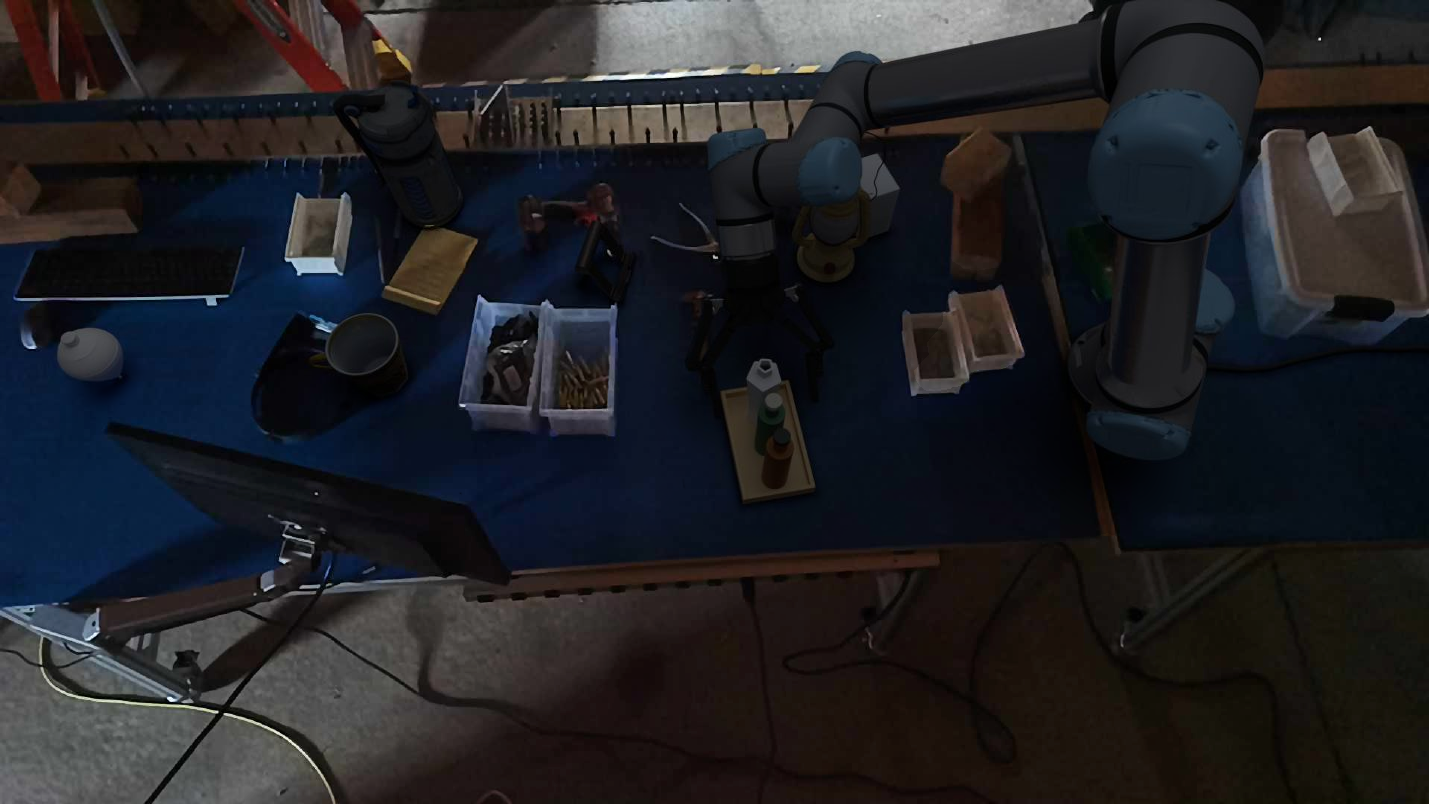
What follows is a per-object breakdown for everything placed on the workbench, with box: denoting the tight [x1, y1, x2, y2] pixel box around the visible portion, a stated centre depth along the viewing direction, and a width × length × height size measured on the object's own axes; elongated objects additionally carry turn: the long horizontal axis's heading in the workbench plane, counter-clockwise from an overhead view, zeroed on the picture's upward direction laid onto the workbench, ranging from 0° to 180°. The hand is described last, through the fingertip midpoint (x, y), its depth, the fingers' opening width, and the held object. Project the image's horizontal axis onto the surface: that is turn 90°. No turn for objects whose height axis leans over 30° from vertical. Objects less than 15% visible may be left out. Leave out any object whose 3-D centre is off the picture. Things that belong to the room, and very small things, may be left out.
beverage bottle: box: [332, 79, 464, 228], centre depth 131 cm, size 10×13×25 cm
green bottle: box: [754, 393, 786, 456], centre depth 117 cm, size 4×4×14 cm
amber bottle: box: [762, 428, 794, 489], centre depth 115 cm, size 4×4×14 cm
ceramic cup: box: [308, 312, 409, 398], centre depth 124 cm, size 13×10×10 cm
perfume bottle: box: [746, 358, 782, 426], centre depth 119 cm, size 5×4×15 cm
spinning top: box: [56, 327, 124, 382], centre depth 123 cm, size 8×8×12 cm
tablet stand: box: [574, 220, 637, 304], centre depth 133 cm, size 9×8×8 cm
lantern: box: [791, 131, 887, 283], centre depth 125 cm, size 12×10×30 cm
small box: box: [854, 153, 901, 238], centre depth 137 cm, size 8×6×10 cm
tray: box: [719, 379, 816, 505], centre depth 123 cm, size 10×17×2 cm, turn 11°
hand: (766, 408), depth 118 cm, fingers open, 13 cm apart
